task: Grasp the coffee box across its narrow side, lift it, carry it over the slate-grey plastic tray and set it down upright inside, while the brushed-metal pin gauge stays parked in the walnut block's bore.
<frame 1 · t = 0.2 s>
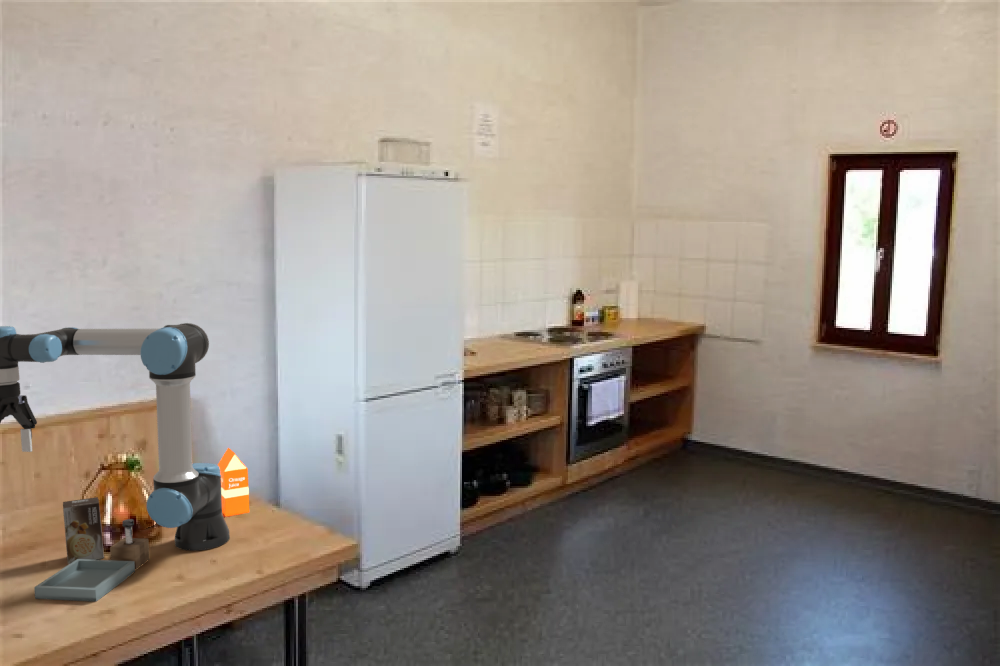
hand: (9, 457, 237), 27 cm above the table, fingers open, 13 cm apart
pillar candle: (185, 517, 270), on the table
tray: (86, 584, 219), on the table
orange juice: (234, 511, 275), on the table
coffee box: (85, 558, 236), on the table
pin gauge: (129, 542, 231), in the walnut block
walnut block: (130, 564, 232), on the table
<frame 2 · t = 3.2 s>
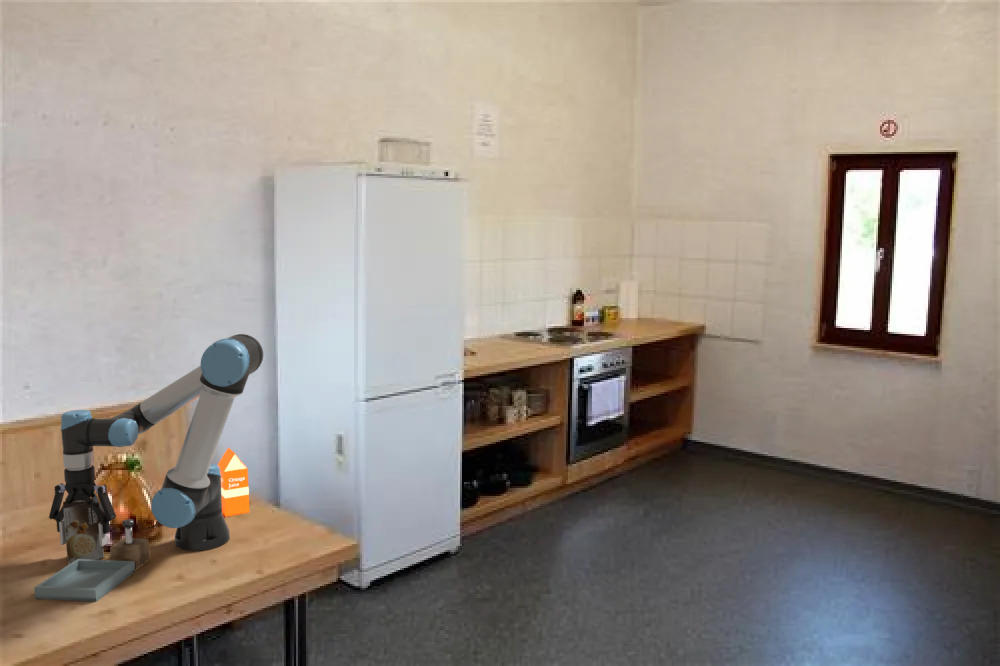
hand: (84, 543, 236), 4 cm above the table, fingers closed on coffee box, 11 cm apart
coffee box: (85, 558, 237), on the table, touching gripper
everything else where it was.
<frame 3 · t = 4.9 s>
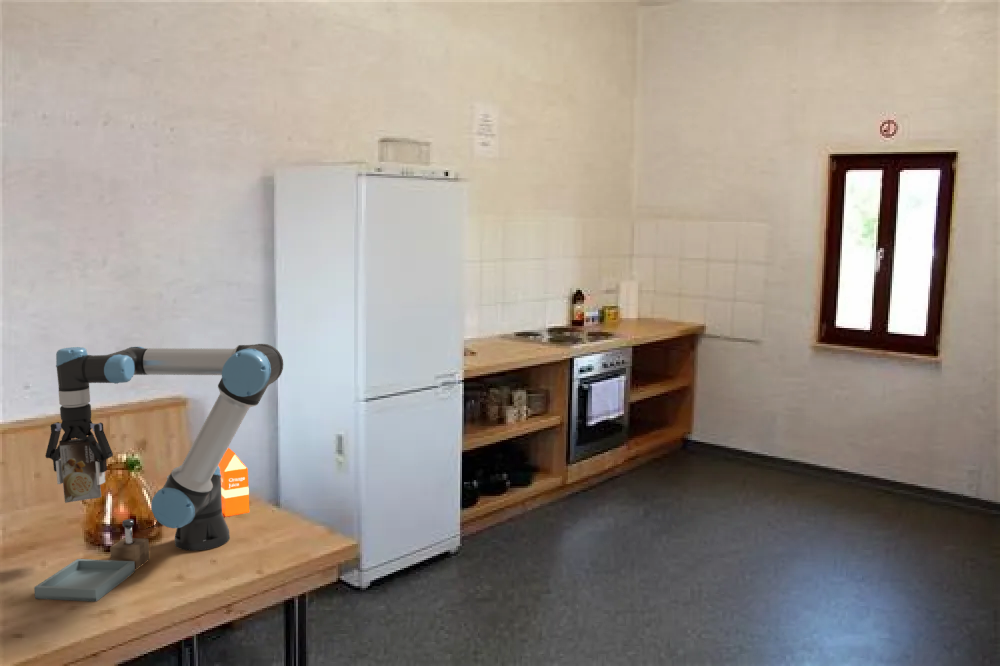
hand: (81, 483, 234), 21 cm above the table, fingers closed on coffee box, 11 cm apart
coffee box: (82, 498, 234), point 17 cm above the table, touching gripper
everything else where it was.
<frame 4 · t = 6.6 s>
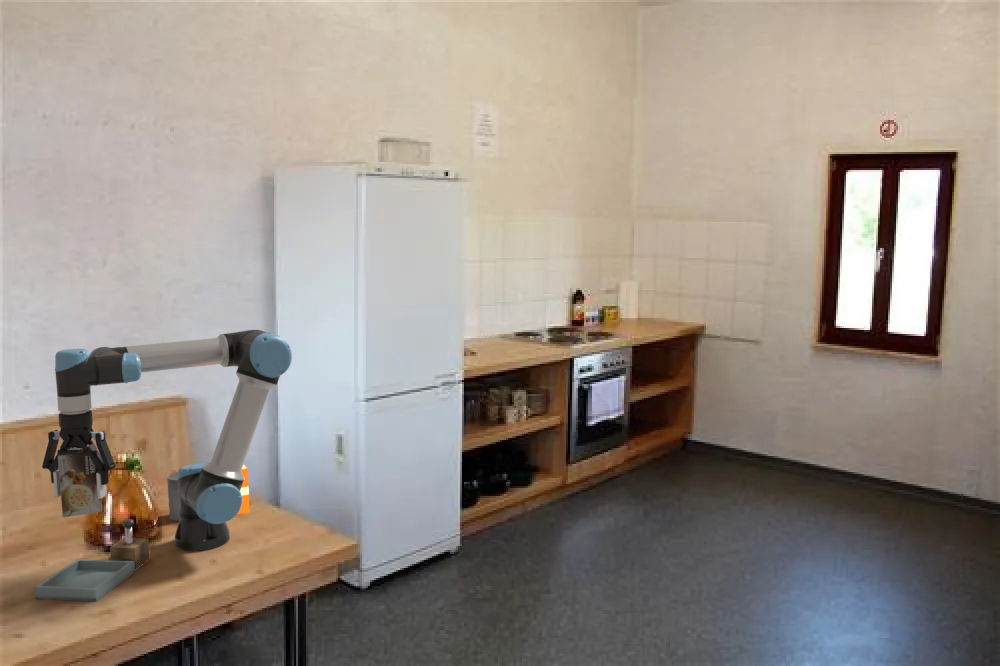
hand: (80, 496, 216), 24 cm above the table, fingers closed on coffee box, 11 cm apart
coffee box: (81, 512, 216), point 19 cm above the table, touching gripper
everything else where it was.
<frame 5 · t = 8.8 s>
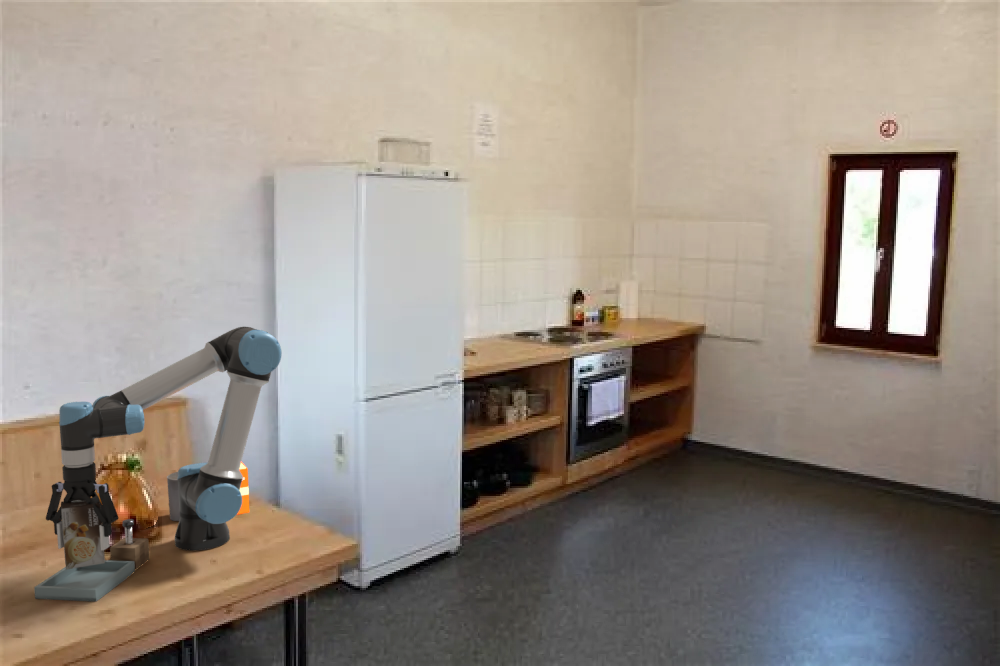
hand: (83, 547, 217), 10 cm above the table, fingers closed on coffee box, 11 cm apart
coffee box: (84, 563, 218), point 6 cm above the table, touching gripper
everything else where it was.
when the fingers open (7 cm above the table, at t = 10.2 s): coffee box drops 2 cm, resting on tray.
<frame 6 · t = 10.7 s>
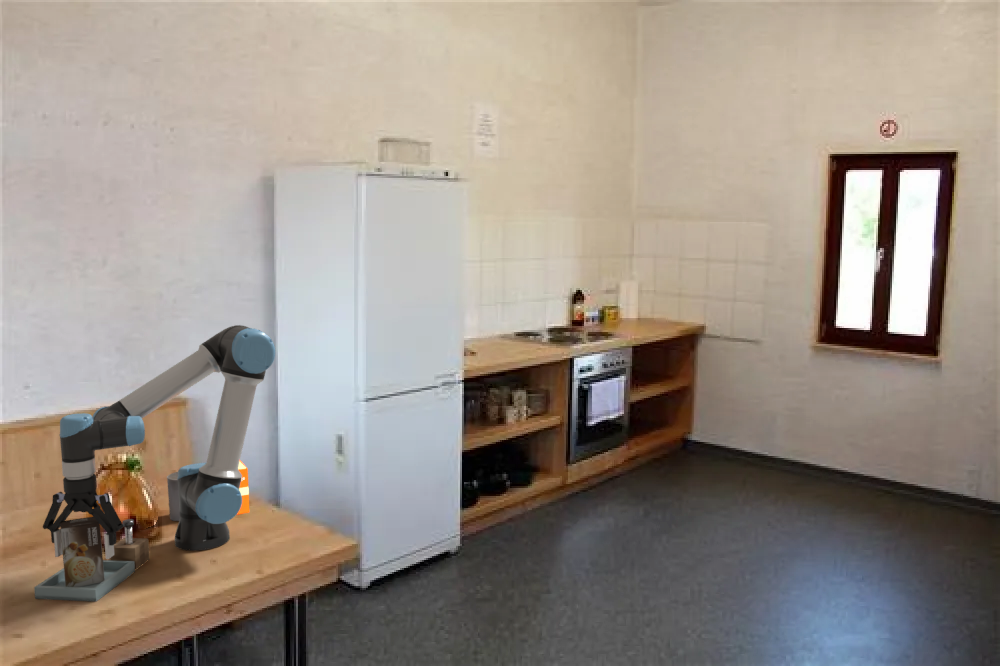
hand: (84, 556, 218), 8 cm above the table, fingers open, 13 cm apart
coffee box: (84, 582, 219), point 1 cm above the table, touching tray
everything else where it was.
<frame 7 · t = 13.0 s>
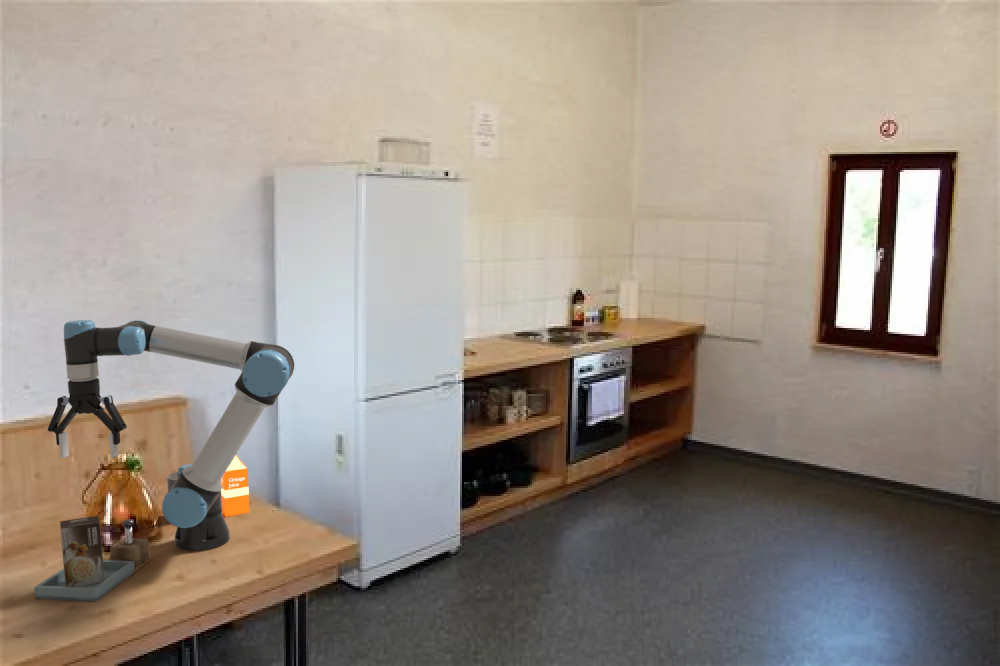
hand: (89, 456, 229), 30 cm above the table, fingers open, 13 cm apart
nothing on the table moved.
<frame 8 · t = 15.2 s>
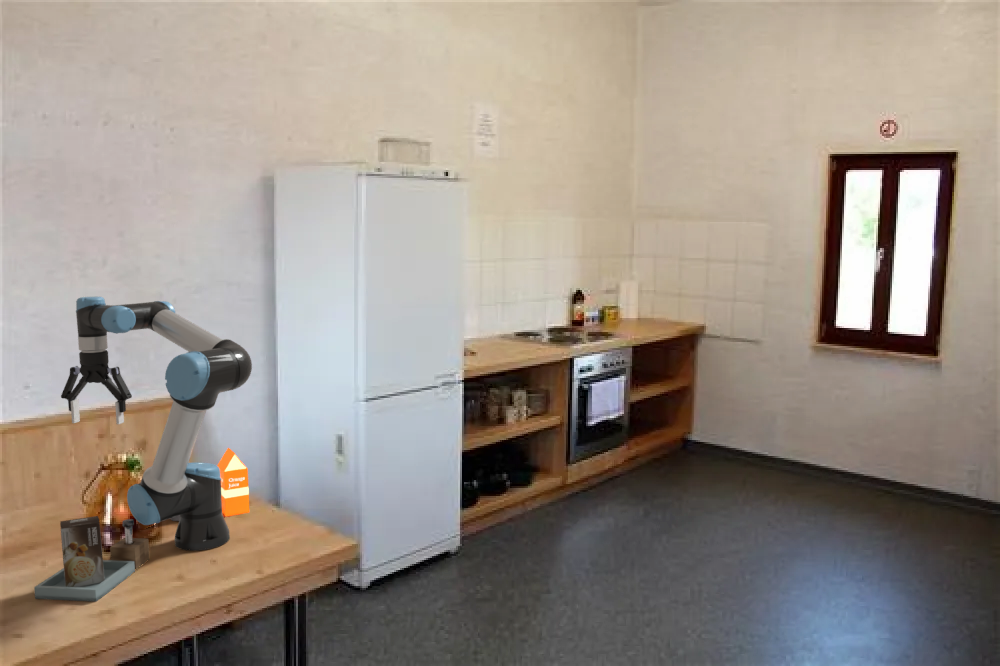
hand: (98, 422, 247), 35 cm above the table, fingers open, 13 cm apart
nothing on the table moved.
at the end: coffee box inside the target area on the tray (0.6 cm from its centre), point 0.6 cm above the tray's base; coffee box tilted 0°; the gripper is holding nothing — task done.
